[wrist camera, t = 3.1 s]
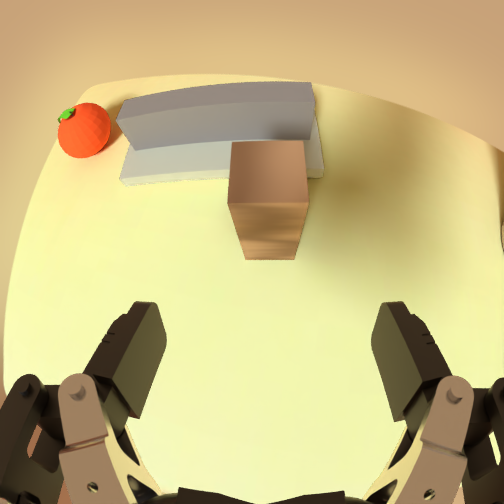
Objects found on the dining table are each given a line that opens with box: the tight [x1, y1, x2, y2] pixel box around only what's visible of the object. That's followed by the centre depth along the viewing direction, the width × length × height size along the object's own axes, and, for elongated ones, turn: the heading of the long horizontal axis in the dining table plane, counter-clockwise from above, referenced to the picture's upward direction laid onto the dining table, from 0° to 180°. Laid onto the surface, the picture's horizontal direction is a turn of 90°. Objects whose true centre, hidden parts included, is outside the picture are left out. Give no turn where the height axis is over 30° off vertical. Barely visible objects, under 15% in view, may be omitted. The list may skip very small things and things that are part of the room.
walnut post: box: [227, 141, 309, 260], centre depth 19 cm, size 4×4×10 cm
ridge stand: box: [116, 82, 324, 186], centre depth 24 cm, size 20×10×6 cm, turn 89°
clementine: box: [58, 103, 111, 158], centre depth 25 cm, size 8×7×7 cm
